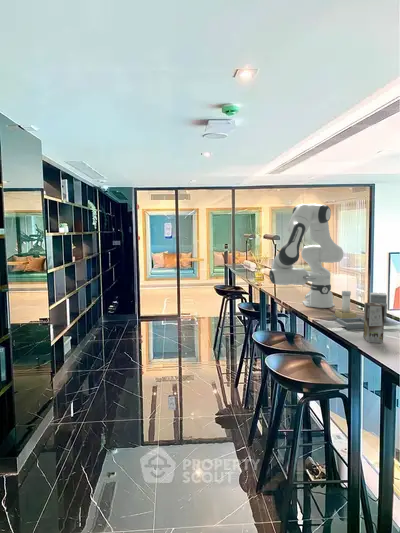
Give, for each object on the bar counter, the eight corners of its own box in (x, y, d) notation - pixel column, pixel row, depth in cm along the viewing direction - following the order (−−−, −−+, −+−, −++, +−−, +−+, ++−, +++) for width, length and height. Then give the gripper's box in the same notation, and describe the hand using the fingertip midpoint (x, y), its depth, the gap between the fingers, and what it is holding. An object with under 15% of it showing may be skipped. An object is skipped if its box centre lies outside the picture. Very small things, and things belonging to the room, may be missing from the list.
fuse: (339, 316, 216) (340, 290, 214) (347, 316, 216) (348, 290, 215) (343, 318, 211) (344, 292, 210) (351, 317, 212) (352, 292, 211)
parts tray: (335, 324, 204) (335, 318, 203) (361, 323, 205) (361, 317, 205) (346, 330, 192) (347, 323, 192) (373, 329, 194) (374, 323, 193)
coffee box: (383, 343, 169) (385, 306, 168) (367, 342, 171) (369, 305, 169) (378, 337, 178) (379, 302, 177) (363, 337, 179) (364, 301, 178)
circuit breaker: (370, 325, 201) (371, 296, 200) (369, 319, 214) (370, 292, 213) (386, 326, 198) (387, 297, 197) (384, 320, 211) (385, 293, 210)
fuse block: (330, 317, 219) (330, 309, 219) (350, 317, 220) (350, 309, 220) (340, 322, 207) (340, 314, 207) (361, 322, 209) (362, 313, 208)
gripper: (308, 272, 198) (334, 272, 200) (293, 268, 218) (317, 268, 220) (307, 285, 199) (334, 284, 200) (293, 280, 219) (317, 279, 220)
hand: (325, 276), depth 210 cm, fingers open, 8 cm apart
